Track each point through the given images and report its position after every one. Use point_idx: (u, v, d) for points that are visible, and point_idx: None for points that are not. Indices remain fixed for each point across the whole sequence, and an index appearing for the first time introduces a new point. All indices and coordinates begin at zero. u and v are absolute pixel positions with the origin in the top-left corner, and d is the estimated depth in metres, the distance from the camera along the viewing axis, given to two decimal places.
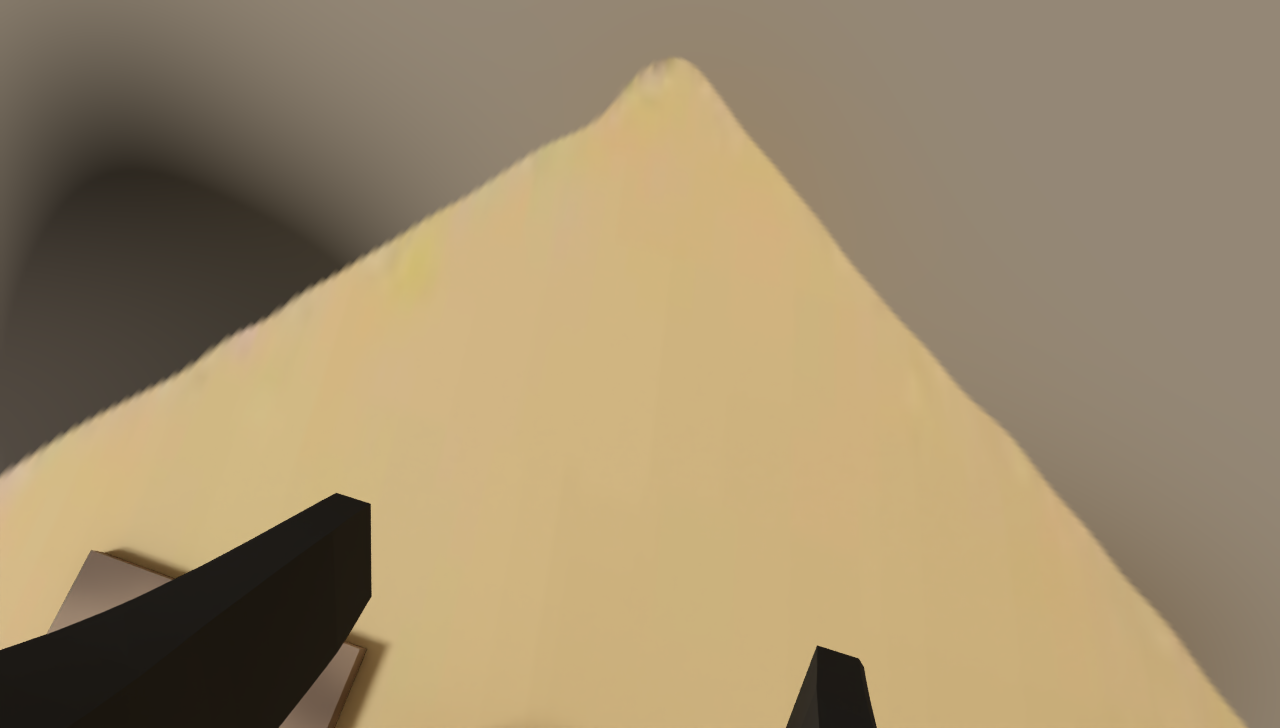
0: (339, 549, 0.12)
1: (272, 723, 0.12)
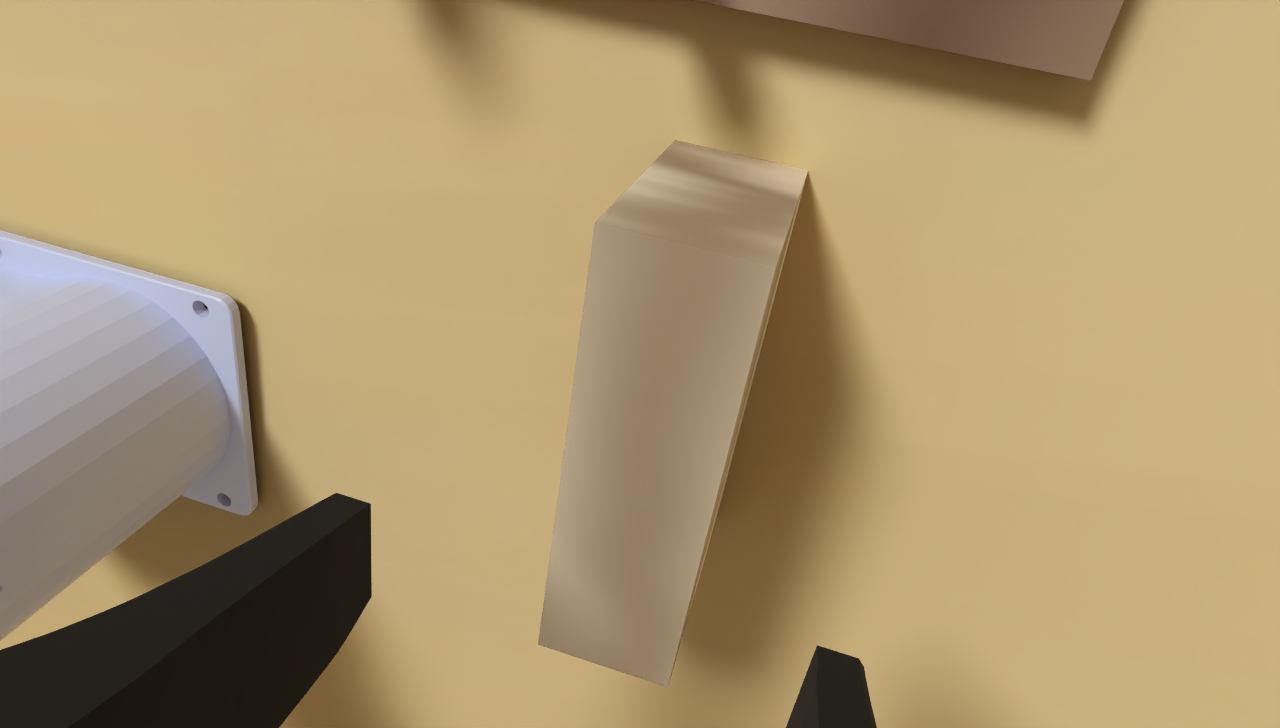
0: (339, 549, 0.12)
1: (272, 723, 0.12)
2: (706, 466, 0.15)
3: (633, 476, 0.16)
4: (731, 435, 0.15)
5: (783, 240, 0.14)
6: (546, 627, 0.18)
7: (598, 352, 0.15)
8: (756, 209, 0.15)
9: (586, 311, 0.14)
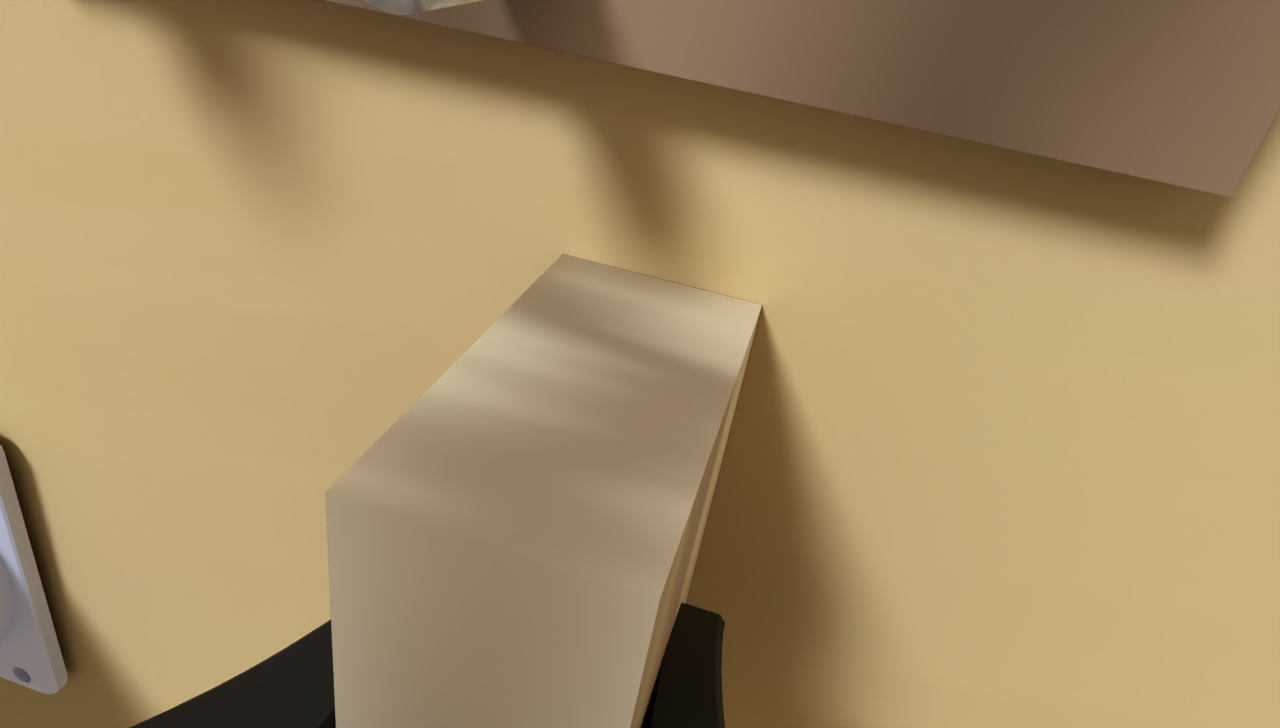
0: None
1: None
2: None
3: None
4: None
5: (690, 504, 0.08)
6: None
7: (367, 687, 0.08)
8: (657, 417, 0.09)
9: (337, 625, 0.08)
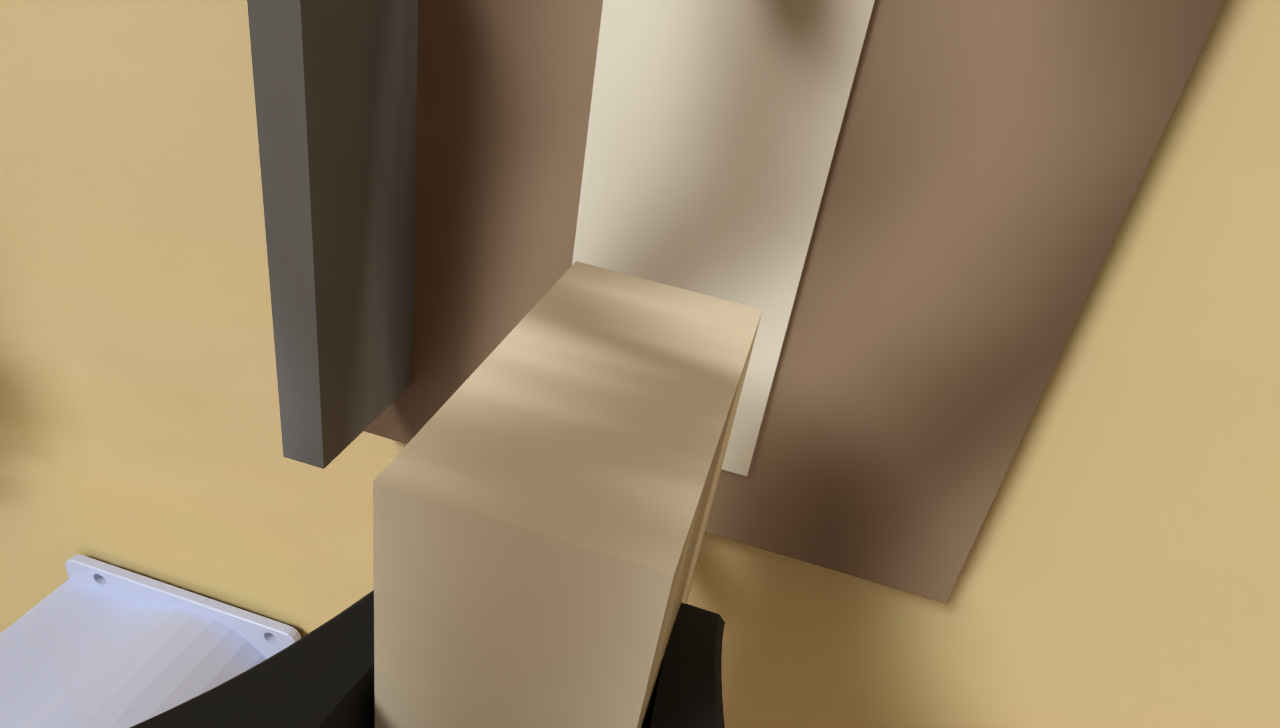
0: None
1: None
2: None
3: None
4: None
5: (699, 492, 0.09)
6: None
7: (405, 658, 0.09)
8: (668, 412, 0.10)
9: (379, 602, 0.09)
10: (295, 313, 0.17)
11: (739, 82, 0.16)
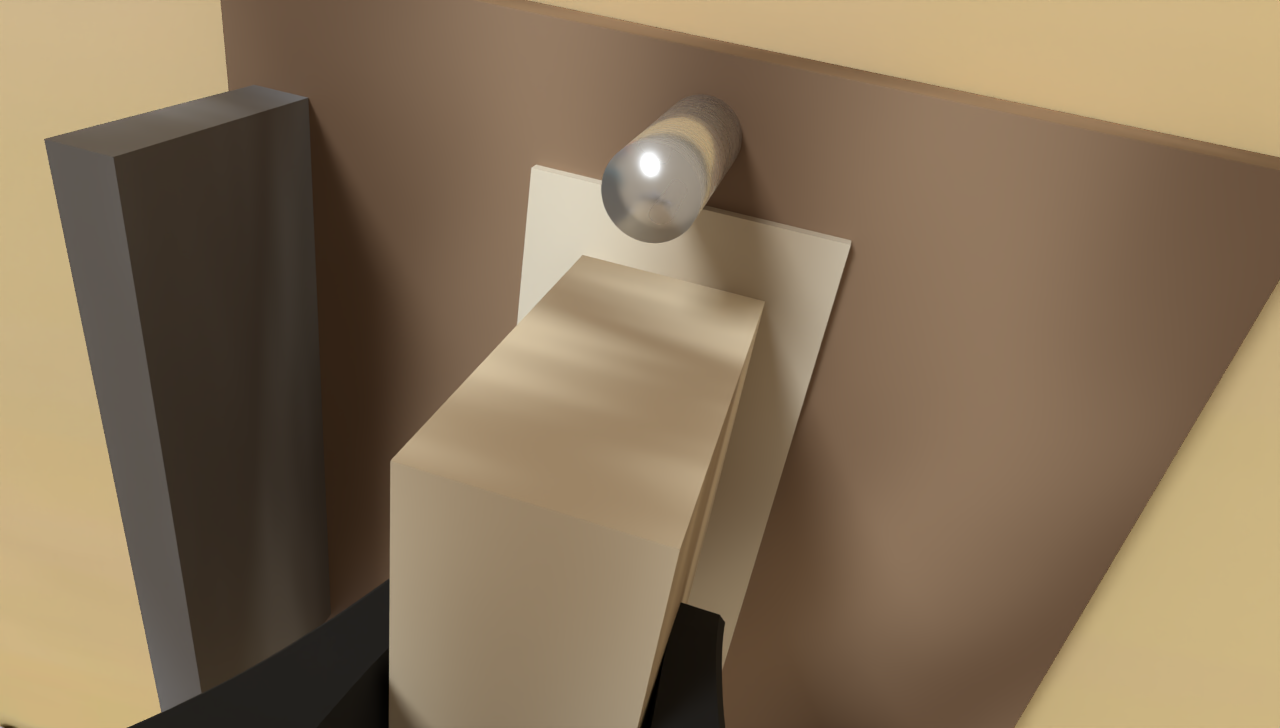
0: None
1: None
2: None
3: None
4: None
5: (704, 472, 0.09)
6: None
7: (419, 634, 0.09)
8: (673, 397, 0.10)
9: (395, 579, 0.09)
10: (166, 616, 0.14)
11: None
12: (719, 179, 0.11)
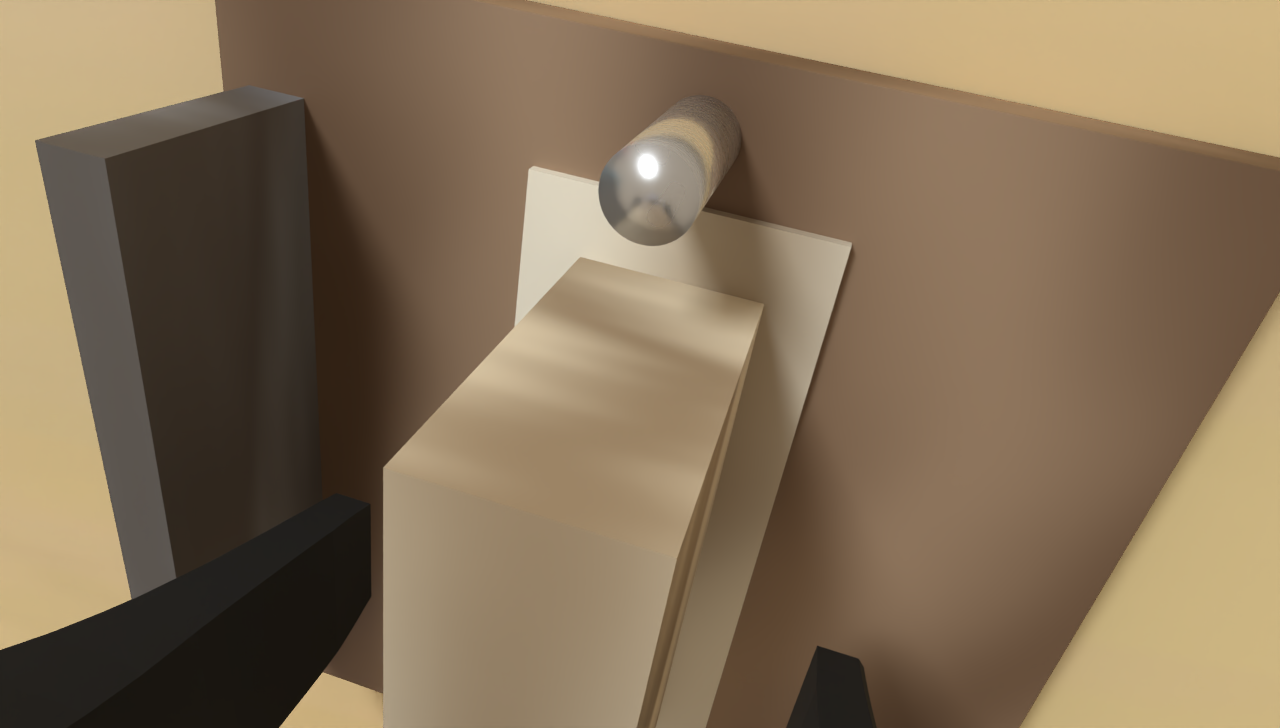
0: (339, 549, 0.12)
1: (272, 723, 0.12)
2: None
3: None
4: None
5: (701, 479, 0.09)
6: None
7: (413, 643, 0.09)
8: (670, 404, 0.10)
9: (388, 587, 0.09)
10: None
11: None
12: (718, 181, 0.11)
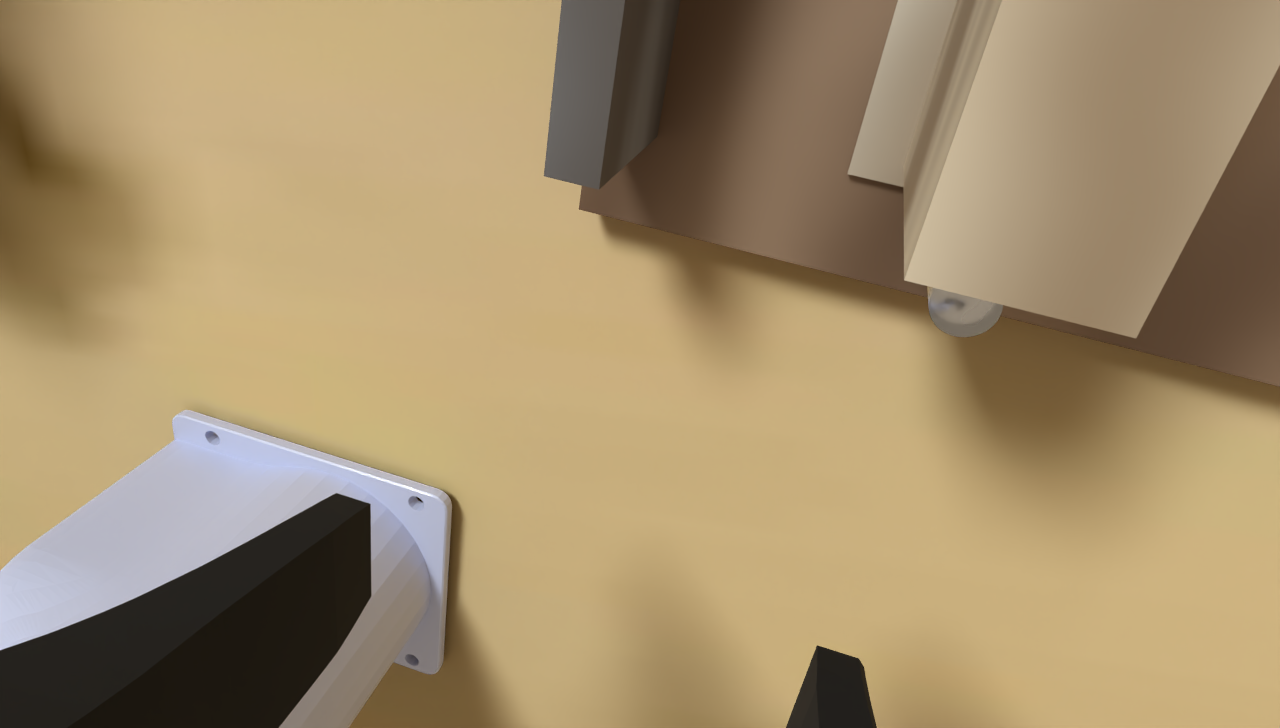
0: (339, 549, 0.12)
1: (272, 723, 0.12)
2: None
3: None
4: None
5: None
6: (928, 242, 0.11)
7: None
8: None
9: None
10: None
11: None
12: None
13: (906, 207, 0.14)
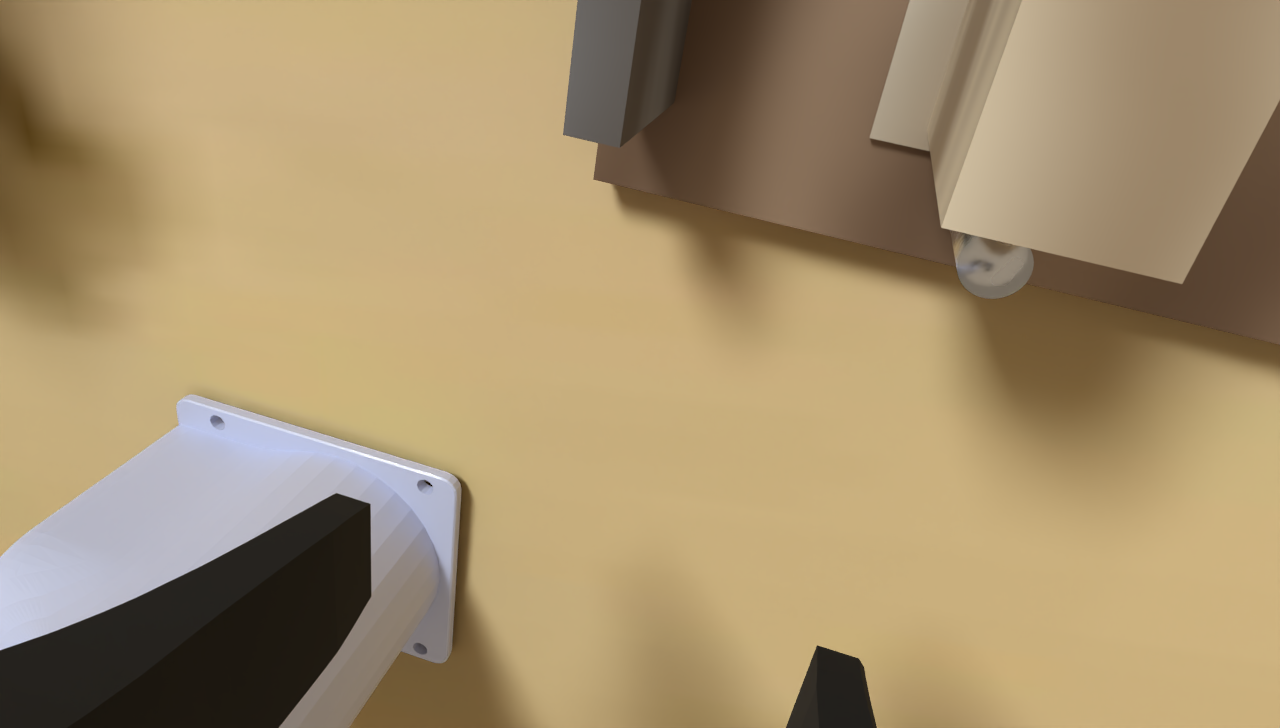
0: (339, 549, 0.12)
1: (272, 723, 0.12)
2: None
3: None
4: None
5: None
6: (966, 187, 0.11)
7: None
8: None
9: None
10: None
11: None
12: None
13: (936, 162, 0.13)
